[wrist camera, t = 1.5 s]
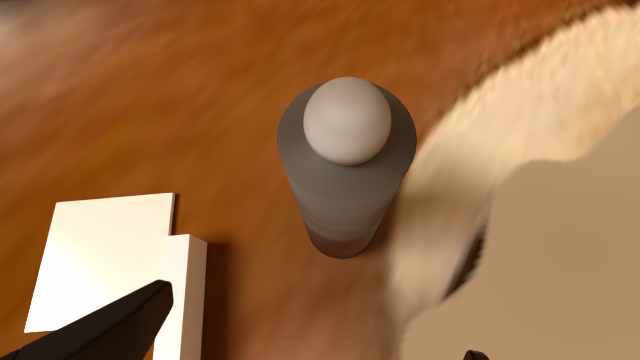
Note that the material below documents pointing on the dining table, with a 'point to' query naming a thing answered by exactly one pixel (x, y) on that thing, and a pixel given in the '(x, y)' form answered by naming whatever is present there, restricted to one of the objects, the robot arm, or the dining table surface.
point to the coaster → (99, 256)
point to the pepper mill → (345, 160)
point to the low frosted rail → (183, 299)
